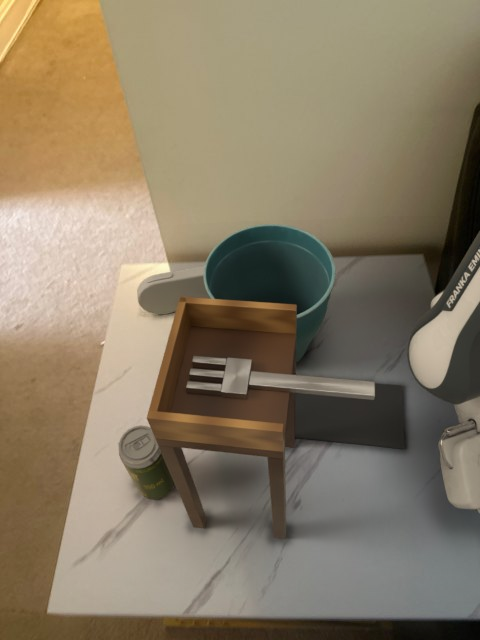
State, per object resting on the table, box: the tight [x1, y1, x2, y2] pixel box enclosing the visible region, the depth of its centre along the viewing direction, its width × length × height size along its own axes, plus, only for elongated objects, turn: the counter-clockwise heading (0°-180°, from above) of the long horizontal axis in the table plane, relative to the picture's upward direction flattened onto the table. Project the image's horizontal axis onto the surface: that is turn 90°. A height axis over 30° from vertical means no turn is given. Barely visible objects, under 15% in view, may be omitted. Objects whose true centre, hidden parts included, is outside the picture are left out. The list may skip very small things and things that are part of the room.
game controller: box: [136, 265, 210, 315], centre depth 93 cm, size 20×2×8 cm, turn 100°
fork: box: [186, 356, 376, 400], centre depth 55 cm, size 18×4×1 cm, turn 82°
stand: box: [146, 297, 297, 540], centre depth 64 cm, size 12×14×30 cm
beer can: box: [118, 424, 175, 500], centre depth 72 cm, size 5×5×12 cm
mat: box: [295, 382, 405, 450], centre depth 82 cm, size 22×10×1 cm, turn 82°
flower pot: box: [203, 223, 337, 363], centre depth 83 cm, size 18×18×17 cm
